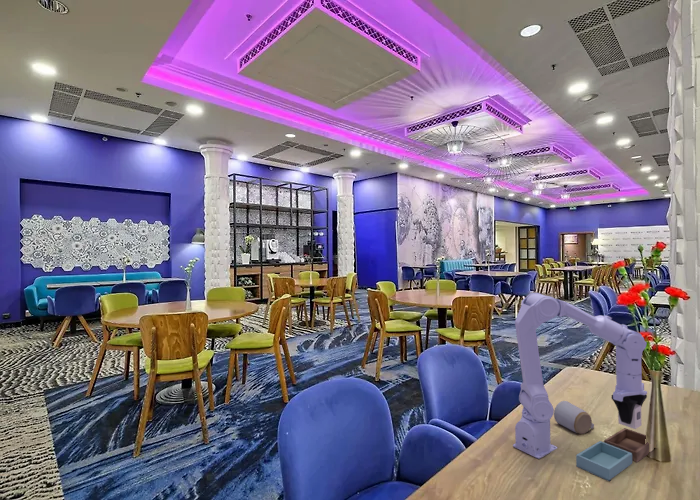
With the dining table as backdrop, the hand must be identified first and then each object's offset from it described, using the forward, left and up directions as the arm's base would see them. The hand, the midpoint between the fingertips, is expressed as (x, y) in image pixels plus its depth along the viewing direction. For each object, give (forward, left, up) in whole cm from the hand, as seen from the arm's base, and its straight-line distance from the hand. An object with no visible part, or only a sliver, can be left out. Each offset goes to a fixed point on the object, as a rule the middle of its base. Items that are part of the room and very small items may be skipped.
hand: (629, 420), depth 104 cm
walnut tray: (0, 0, -8) cm, 8 cm away
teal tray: (-14, 0, -8) cm, 16 cm away
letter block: (0, 0, -1) cm, 1 cm away
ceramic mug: (+1, +15, -9) cm, 17 cm away
